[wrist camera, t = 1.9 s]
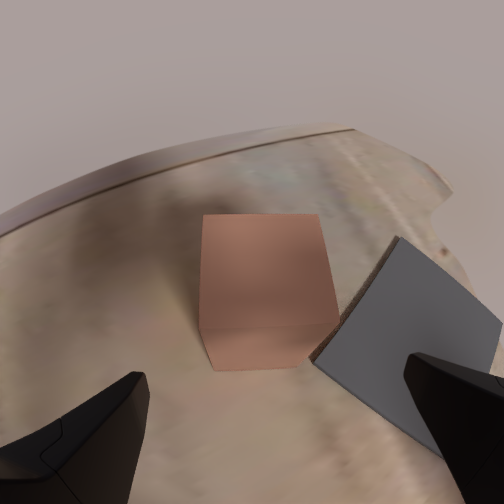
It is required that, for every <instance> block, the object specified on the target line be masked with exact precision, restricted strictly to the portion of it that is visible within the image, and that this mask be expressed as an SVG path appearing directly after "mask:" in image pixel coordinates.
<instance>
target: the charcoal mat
mask: <svg viewBox="0 0 504 504" xmlns="http://www.w3.org/2000/svg"><path fill="white" fill-rule="evenodd" d="M502 324H503V323H502V322H501V321H500V320H499V319H498V318H497V317H496V316H495V315H494V314H493V313H492V312H491V311H489V310H488V309H487V308H486V307H485V306H484V305H483V304H482V303H481V302H480V301H479V300H478V299H477V298H475V297H474V296H473V295H472V294H471V293H470V292H469V291H468V290H467V289H465V288H464V287H463V286H462V285H461V284H460V283H459V282H457V281H456V280H455V279H454V278H453V277H451V276H450V275H449V274H448V273H447V272H446V271H444V270H443V269H442V268H441V267H440V266H438V265H437V264H436V263H435V262H433V261H432V260H431V259H430V258H428V257H427V256H426V255H425V254H423V253H422V252H421V251H420V250H418V249H417V248H416V247H414V246H413V245H412V244H410V243H409V242H408V241H407V240H405V239H404V238H403V237H401V238H400V239H399V241H398V242H397V244H396V246H395V247H394V249H393V251H392V252H391V254H390V255H389V257H388V259H387V260H386V262H385V263H384V265H383V267H382V268H381V270H380V271H379V273H378V274H377V276H376V277H375V279H374V280H373V282H372V283H371V285H370V286H369V288H368V289H367V291H366V292H365V294H364V295H363V297H362V298H361V300H360V301H359V303H358V304H357V305H356V307H355V308H354V310H353V311H352V312H351V314H350V315H349V317H348V318H347V319H346V321H345V322H344V323H343V325H342V326H341V327H340V329H339V330H338V332H337V333H336V334H335V335H334V337H333V338H332V339H331V341H330V342H329V343H328V345H327V346H326V347H325V348H324V350H323V351H322V352H321V353H320V355H319V356H318V357H317V358H316V360H315V361H314V362H313V363H312V364H313V365H315V366H316V367H317V368H319V369H320V370H321V371H322V372H324V373H325V374H326V375H327V376H329V377H330V378H331V379H333V380H334V381H335V382H337V383H338V384H339V385H340V386H342V387H343V388H344V389H346V390H347V391H348V392H350V393H351V394H352V395H354V396H355V397H356V398H358V399H359V400H360V401H362V402H363V403H364V404H366V405H367V406H368V407H370V408H371V409H372V410H374V411H375V412H376V413H378V414H379V415H381V416H382V417H383V418H385V419H386V420H388V421H389V422H390V423H392V424H393V425H395V426H396V427H397V428H399V429H400V430H402V431H403V432H404V433H406V434H407V435H409V436H410V437H412V438H413V439H414V440H416V441H417V442H419V443H420V444H422V445H423V446H425V447H426V448H428V449H429V450H431V451H432V452H434V453H435V454H437V455H438V456H440V457H441V458H443V456H442V454H441V452H440V450H439V448H438V446H437V444H436V443H435V441H434V439H433V437H432V435H431V433H430V431H429V430H428V428H427V426H426V424H425V422H424V421H423V419H422V417H421V415H420V413H419V412H418V410H417V408H416V405H415V403H414V401H413V398H412V396H411V394H410V392H409V389H408V387H407V385H406V383H405V380H404V377H403V372H404V368H405V365H406V361H407V358H408V356H409V354H411V353H415V352H421V353H424V354H427V355H430V356H433V357H436V358H439V359H443V360H446V361H449V362H452V363H455V364H458V365H461V366H465V367H468V368H471V369H474V370H478V371H481V372H484V373H488V374H489V371H490V368H491V365H492V362H493V359H494V355H495V352H496V348H497V344H498V341H499V337H500V332H501V328H502ZM443 459H444V458H443Z"/></svg>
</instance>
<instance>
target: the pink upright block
mask: <svg viewBox="0 0 504 504" xmlns="http://www.w3.org/2000/svg"><path fill="white" fill-rule="evenodd" d="M339 323H340V316H339V311H338V305H337V300H336V295H335V290H334V284H333V280H332V275H331V270H330V265H329V261H328V256H327V251H326V247H325V243H324V238H323V234H322V230H321V225H320V221H319V217H318V214H215V215H203V225H202V243H201V264H200V292H199V331H200V334H201V336H202V339H203V342H204V345H205V347H206V350H207V353H208V355H209V358H210V361H211V363H212V366H213V368H214V371H243V370H265V369H281V368H294V367H297V366H298V365H299V364H300V363H301V362H302V361H303V360H304V359H305V358H306V357H307V356H309V355H310V354H311V353H312V351H313V350H314V349H315V348H316V347H317V346H318V345H319V344H320V343H321V342H322V341H323V340H324V339H325V338H326V337H327V336H328V335H329V334H330V333H331V332H332V331H333V330H334V329H335V328H336V327H337V325H338V324H339Z"/></svg>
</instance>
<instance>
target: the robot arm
mask: <svg viewBox="0 0 504 504" xmlns="http://www.w3.org/2000/svg"><path fill="white" fill-rule="evenodd" d="M403 377H404V380H405V383H406V385H407V387H408V389H409V392H410V394H411V396H412V398H413V401H414V403H415V405H416V408H417V410H418V412H419V413H420V415H421V417H422V419H423V421H424V422H425V424H426V426H427V428H428V430H429V431H430V433H431V435H432V437H433V439H434V441H435V443H436V444H437V446H438V448H439V450H440V452H441V454H442V456H443V458H444V460H445V462H446V464H447V466H448V468H449V470H450V472H451V474H452V476H453V478H454V480H455V482H456V484H457V486H458V488H459V490H460V492H461V495H462V497H463V499H464V501H465V503H466V504H504V378H501V377H498V376H494V375H491V374H488V373H484V372H481V371H478V370H474V369H471V368H468V367H465V366H461V365H458V364H455V363H452V362H449V361H446V360H443V359H439V358H436V357H433V356H430V355H427V354H424V353H421V352H415V353H411V354H409V356H408V358H407V361H406V365H405V368H404V372H403ZM149 400H150V392H149V388H148V383H147V379H146V375H145V373H143V372H136V371H132V372H130V373H129V374H127V375H126V376H124V377H123V378H121V379H120V380H118V381H117V382H115V383H114V384H112V385H110V386H109V387H107V388H106V389H104V390H103V391H101V392H100V393H98V394H97V395H95V396H93V397H92V398H90V399H89V400H87V401H86V402H84V403H82V404H81V405H79V406H78V407H76V408H74V409H73V410H71V411H70V412H68V413H66V414H65V415H63V416H62V417H61V419H60V418H58V419H57V420H55V421H53V422H52V423H50V424H48V425H47V426H45V427H43V428H41V429H40V430H38V431H36V432H34V433H32V434H29V435H27V436H25V437H23V438H21V439H19V440H16V441H14V442H12V443H10V444H7V445H5V446H3V447H1V448H0V504H127V503H128V499H129V494H130V490H131V486H132V482H133V478H134V474H135V470H136V466H137V462H138V458H139V454H140V450H141V447H142V443H143V439H144V434H145V428H146V420H147V413H148V406H149Z"/></svg>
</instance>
